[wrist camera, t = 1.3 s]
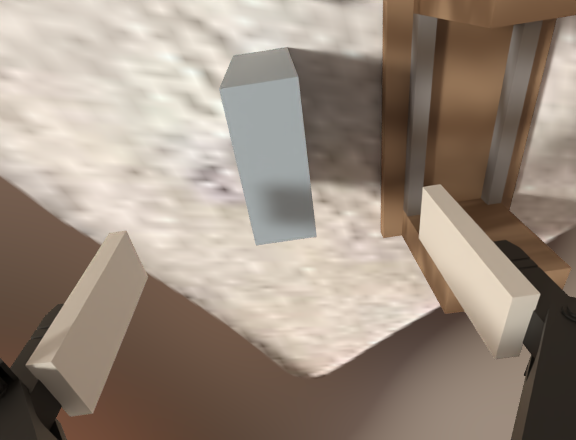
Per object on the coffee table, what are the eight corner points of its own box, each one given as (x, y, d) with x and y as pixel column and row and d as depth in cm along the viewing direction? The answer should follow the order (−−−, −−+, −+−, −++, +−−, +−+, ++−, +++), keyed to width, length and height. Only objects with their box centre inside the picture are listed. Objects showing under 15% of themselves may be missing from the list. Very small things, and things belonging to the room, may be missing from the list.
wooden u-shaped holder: (383, -36, 24) (459, -48, 14) (566, -66, 23) (762, -98, 14) (380, 231, 36) (421, 317, 27) (501, 214, 35) (583, 294, 26)
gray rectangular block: (233, 55, 26) (219, 88, 18) (287, 47, 26) (298, 76, 18) (257, 176, 32) (256, 245, 23) (302, 170, 32) (316, 236, 23)
